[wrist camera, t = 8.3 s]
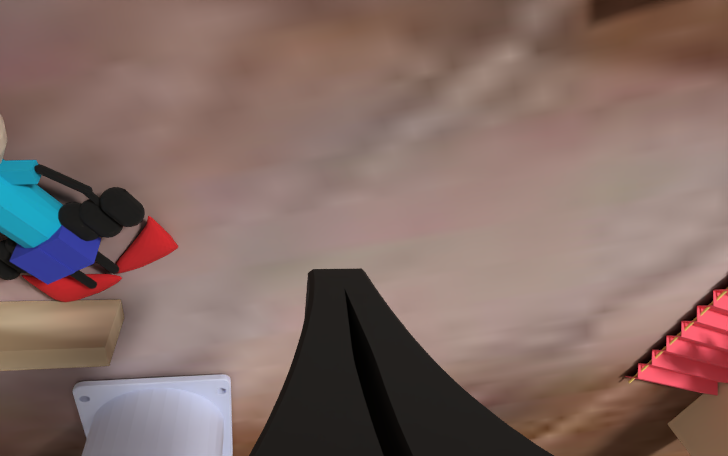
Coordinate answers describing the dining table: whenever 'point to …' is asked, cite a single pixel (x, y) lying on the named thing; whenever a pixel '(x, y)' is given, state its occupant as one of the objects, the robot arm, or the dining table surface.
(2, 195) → the toy figure
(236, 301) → the dining table surface
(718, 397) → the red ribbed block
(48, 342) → the wooden tray
